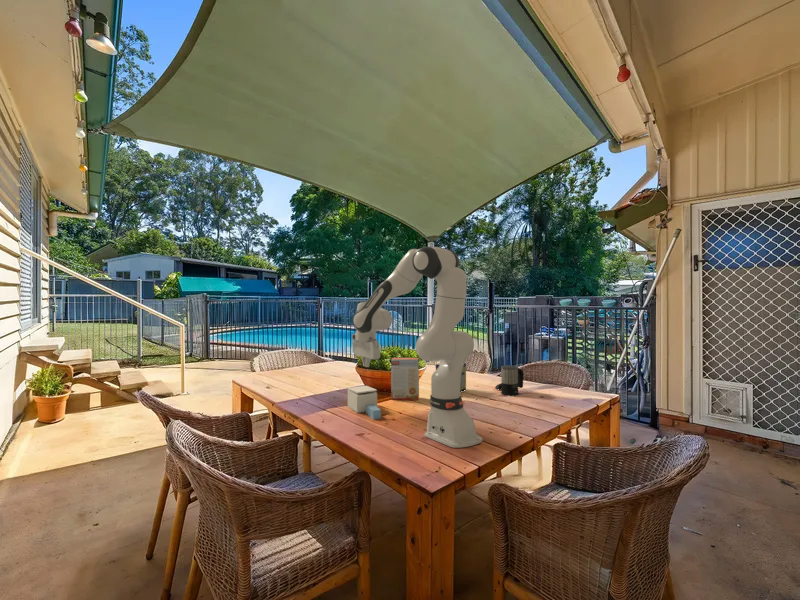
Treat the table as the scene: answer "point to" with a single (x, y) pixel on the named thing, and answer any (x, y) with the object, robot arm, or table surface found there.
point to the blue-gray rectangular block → (373, 411)
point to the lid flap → (362, 389)
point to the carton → (361, 400)
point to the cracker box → (405, 379)
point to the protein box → (463, 377)
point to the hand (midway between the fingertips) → (366, 366)
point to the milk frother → (510, 380)
